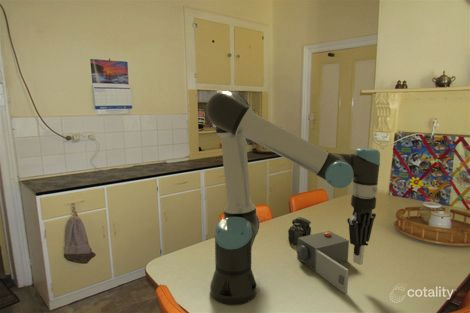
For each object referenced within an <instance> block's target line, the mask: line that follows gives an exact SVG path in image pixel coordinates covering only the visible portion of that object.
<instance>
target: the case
mask: <svg viewBox="0 0 470 313" xmlns="http://www.w3.org/2000/svg"><path fill="white" fill-rule="evenodd" d="M349 244H350V240H348V239H346V238H344V237H343V236H340V235H339V234H336V233H334V232H333V231H330V230H327V231H323V232H319V233H313V234H310V235H308V236H304V237H299V238H298V245H297V247H296V254H297V255H296V256H297V257H296V258H297V259H298V260H300V261H301V262H302V263H304V264H306V265H307V266H308V267H310V268H311V269H313V270H314V267H315V250H319V251H320V252H322V253H323V254H325V255H326V256H328V257H330V258H331V259H333V260H334V261H336V262H337V263H339V264H340V265H341V264H344V263H347V262H349Z"/></svg>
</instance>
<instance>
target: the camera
mask: <svg viewBox="0 0 470 313" xmlns="http://www.w3.org/2000/svg"><path fill="white" fill-rule="evenodd" d="M291 224H292V226H290V227H289V229H288V230H287V232H288V242H289V243H290V244H292V245H297V246H298V238H299V237H304V236H308V235H312V234H311V233H312V228H311V226H310V225H311V224H312V221H310V220H308V219H306V218H303V217H302V216H297V217H296V218H295V219H292V222H291Z"/></svg>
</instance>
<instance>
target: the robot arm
mask: <svg viewBox="0 0 470 313" xmlns="http://www.w3.org/2000/svg"><path fill="white" fill-rule="evenodd" d="M205 110H206V116H207V118H208V120H209V121H210V123H211V124H212V125H214V126H215V134H216V135H217V136H218V137H219V138H220V140H221V153H222V163H223V175H224V183H225V184H224V185H225V193H226V203H227V204H226V205H225V206H224V208H223V215H224V216H223V217H224V218H223V219H221V220H219V221H218V222H217V223H216V225H215V228H214V249H215V250H214V253H215V254H214V255H215V256H214V257H215V259H214V261H215V268H214V269H215V270H214V272H213V276H212V280H211V282H210V289H209V290H210V292H209V293H210V296H211V297H212V298H213V300H215V301H217V302H218V303H221V304H223V305H230V306H231V305H232V306H234V305H242V304H245V303H249V302H251V301H252V300H253V299H254V298H255V297H256V295H257V290H258V289H257V287H258V286H257V282H256V279H255V276H254V273H253V270H252V250H253V249H252V247H253V245H254V242H255V240H256V237H257V235H258V233H259V229H260V219H259V216H258V214H257V206H256V205H255V204H254V203H253V202H252V194H251V187H250V176H249V175H250V174H249V173H250V172H249V162H248V161H249V160H248V149H247V139H248V140H250V141H252V142H254V143H255V144H258V145H260V146H261V147H263V148H265V149H267V150H269V151H271V152H273V153H275V154H277V155H278V156H280V157H282V158H284V159H285V160H287V161H288V162H289V161H290V162H292V163H293V164H295V165H297V166H299V167H301V168H303V169H304V170H307V171H308V172H310V173H312V174H315V175H316V176H318V178H320V179H323V180H324V181H326V183H328V184H329V185H330V186H331V187H333V188H335V189H343V188H346V187H349V186H350V185H351V183H352V188H351V193H352V194H351V198H350V199H351V200H350V206H351V207H352V208H353V212H352V217H351V218H350V217H348V218H347V219H346V220H347V223H348V233H349V234H348V235H349V244H351V245H353V259H352V261H353V263H355V264H357V265H359V266H361V265H364V257H365V256H364V255H365V254H364V252H365V246H366V247H368V245H369V242H370V239H371V233H372V229H373V225H374V221H375V219H376V217H377V214H376V213H374V212H373V210H374V209H376V206H377V197H376V196H377V194H378V193H377V192H378V191H379V190H378V182H379V172H380V166H381V162H380V161H381V152H380V151H379V150H378V149H377V148H369V147H358V148H356V149H355V152H354V153H340V152H339V153H338V152H337V153H336V152H329V151H327V150H324V149H323V148H321V147H320V146H317V145H315V144H313V143H312V142H310V141H308V140H305V139H303V137H300V136H298V135H296V134H294V133H292V132H291V131H288V130H286V129H285V128H282V127H281V126H279V125H277V124H275V123H274V122H272V121H270V120H267V119H266V118H264V117H262V116H261V115H258V114H257V113H254V111H253V108H252V107H250V105H249V101H248V100H247V99H246V98H245V97H244V96H243V95H241V94H240V93H238V92H232V91H231V92H230V91H224V90H223V91H218V92H217V93H214V94H213V95H212V96H211V97H210V98H209V100H208V102H207V104H206V109H205Z"/></svg>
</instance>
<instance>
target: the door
mask: <svg viewBox="0 0 470 313" xmlns="http://www.w3.org/2000/svg"><path fill="white" fill-rule="evenodd" d="M313 270H314V272H315V273H317V274H318V275H319V276H321V277H322V278H323V279H325V280H326V281H328V282H329V283H330V284H331V285H333V286H334V287H336V288H337V289H338V290H339V291H341V292H342V293H343V294H347V293H348V290H349V289H348V287H349V286H348V285H349V270H350V269H348V268H346V267H345V266H343V264H341V263H340V264H339V263H337V262H336V261H334V260H333V259H331V258H330V257H328V256H326V255H325V254H323V253H322V252H320V251H319V250H315V267H314V269H313Z"/></svg>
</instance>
